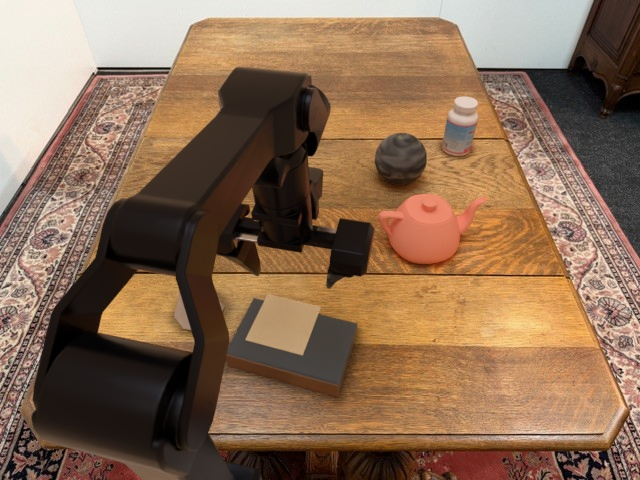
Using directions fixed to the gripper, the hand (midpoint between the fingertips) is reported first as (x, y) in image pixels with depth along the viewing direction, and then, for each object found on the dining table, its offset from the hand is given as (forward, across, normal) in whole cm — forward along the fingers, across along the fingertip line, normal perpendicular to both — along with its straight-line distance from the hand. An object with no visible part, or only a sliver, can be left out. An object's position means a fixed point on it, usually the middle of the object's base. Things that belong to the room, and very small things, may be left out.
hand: (293, 279), depth 59 cm
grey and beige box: (+14, 0, +3) cm, 14 cm away
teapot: (+16, -17, -23) cm, 32 cm away
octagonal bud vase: (+14, +16, 0) cm, 21 cm away
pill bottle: (+19, -21, -52) cm, 59 cm away
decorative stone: (+18, -10, -39) cm, 44 cm away
